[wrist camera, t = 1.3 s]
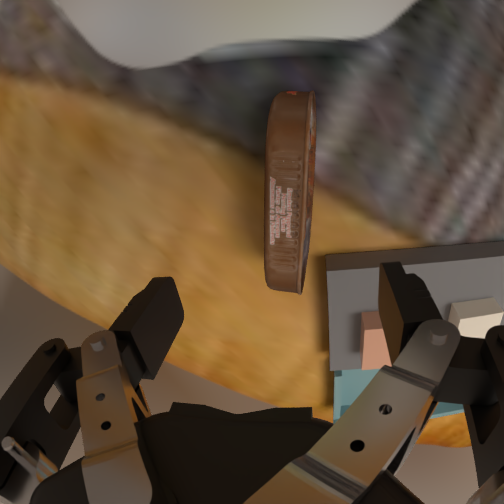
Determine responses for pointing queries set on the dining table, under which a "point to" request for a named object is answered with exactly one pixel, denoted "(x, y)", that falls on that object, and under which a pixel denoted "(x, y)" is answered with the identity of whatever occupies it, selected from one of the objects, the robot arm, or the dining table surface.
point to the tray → (355, 382)
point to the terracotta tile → (373, 342)
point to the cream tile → (475, 316)
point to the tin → (289, 189)
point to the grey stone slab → (413, 261)
